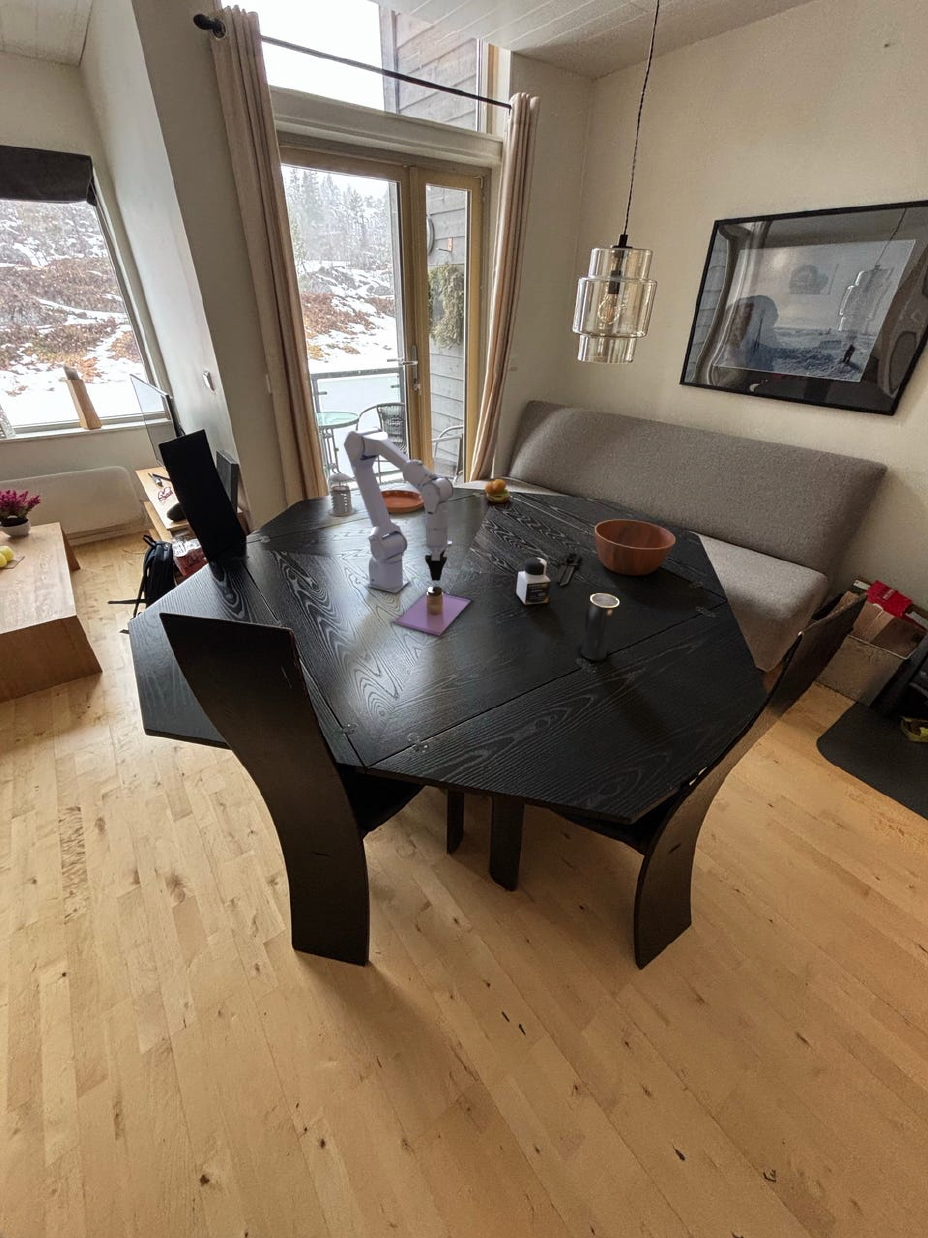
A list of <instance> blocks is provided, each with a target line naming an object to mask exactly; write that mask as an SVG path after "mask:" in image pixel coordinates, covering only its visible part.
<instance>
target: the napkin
mask: <svg viewBox="0 0 928 1238" xmlns="http://www.w3.org/2000/svg"><path fill="white" fill-rule="evenodd" d="M470 603H471V599H466V598H463V597H458V596H454V595H451V594H445V593H443V612H442V613H441V614H439V615H431V614H428V613H427V593H426V594H424V595H423V596H422V597H421V598H420V599H419V600H418V601H417V602H416V603H414V604H413V605H412V606H411V607H410V608H409V609H408V610H407V611H406V612H405V613H403V615H402V616H400V618H398V619H397V620H396V621H395V622H394V625H398V626H402V627H405V628H409V629H413V630H416V631H419V632H424V633H426V634H427V633H428V634H431V635H435V636H438V637H440V636H441V635H442V634H443V633H444V632H445V630H446V629H448V627H449V626H450V625H452V623H453V622H454V621H455V620H456V619H457V617H458V616H460V614H461V613H462V612H463V610H464V609H466V607H467V606H468V605H469V604H470Z"/></svg>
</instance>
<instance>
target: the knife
mask: <svg viewBox="0 0 928 1238" xmlns="http://www.w3.org/2000/svg"><path fill="white" fill-rule="evenodd" d="M580 560H581V554H580V553H577V552H575V551H568V552H567V553H565V554H564V555H563V559H562V560H558V566H560V567H559V569H558V572H557V574H556V576H555V578H554V580H556V581H557V582H558V583H559V586H563V585H566V584H568V583H569V580H570V578H571V576H572V574H573V571H574V569H579V563H580ZM569 562H571V563H569ZM568 563H569V565H568Z"/></svg>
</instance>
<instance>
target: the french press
mask: <svg viewBox="0 0 928 1238" xmlns="http://www.w3.org/2000/svg"><path fill="white" fill-rule="evenodd" d="M339 451H340V449H339V447H334V448H333V452H335V453H336V454H335V455H336V456H338V452H339ZM336 465H337V466H339V460H338V458H336ZM327 478H328V480H329V481H331V482H335V483H337V482H338V484H337V485H333V486H331V487H330V492H329V493H330V501H331V510H330V511H329V513H330V515H332V516H336V517H346V516H350V515H353V514H355V512H356V511H355V509H354V508H353V507H352V506H353V505H352V504H353V503H352V494H351V493H352V492H351V489H350V486H349V485H348V483H345V485H344V484H343V483H342V482H347V481H349V479H350V476H349V475H348V474H346V473H343V472H340V471H339V468H337V473H333V474H330V475H329V476H328V477H327ZM341 483H342V484H341Z"/></svg>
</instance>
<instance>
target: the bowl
mask: <svg viewBox="0 0 928 1238" xmlns="http://www.w3.org/2000/svg"><path fill="white" fill-rule="evenodd" d="M594 541H595V548H596V553H597V556H598V559H599V561H600V563H601V564H602V565H603V566H604V567H605V568H607V569H608V570H610V571H611V572H613V573H617V574H620V575H624V576H632V577H636V576H637V577H640V576H646V575H649V574H651V573H653V572H655V571H656V570H657V569H659V568H660V567H661V565H662V564H663V563H664V561H665V560H666V559H667V558H668V556H669V554H670V553H671V551H672V549H673V547H674V545H675V543H676V537H675V535H674V534H673V533H672V532H671V531H670V530H668V529H666V528H664V527H661V526H660V525H657V524H654V523H650V522H647V521H641V520H634V519H610V520H604V521H601V522H599V523H598V524H596V525H595V527H594Z"/></svg>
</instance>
